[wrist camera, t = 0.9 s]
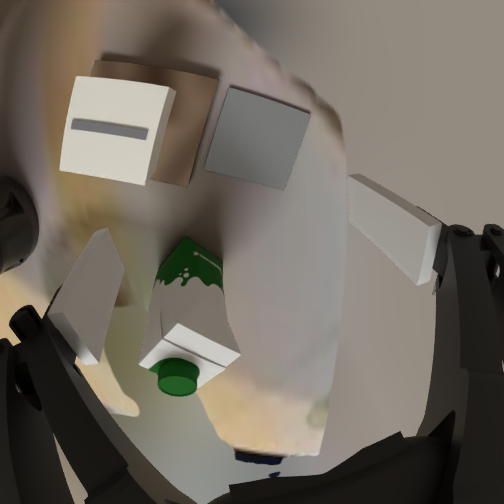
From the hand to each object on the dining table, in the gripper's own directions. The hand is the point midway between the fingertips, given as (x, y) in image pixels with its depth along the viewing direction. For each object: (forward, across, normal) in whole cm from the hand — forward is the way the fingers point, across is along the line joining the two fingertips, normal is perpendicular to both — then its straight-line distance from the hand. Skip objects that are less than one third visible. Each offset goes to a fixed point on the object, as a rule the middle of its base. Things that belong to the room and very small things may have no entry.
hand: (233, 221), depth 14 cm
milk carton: (+23, -6, -16) cm, 28 cm away
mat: (+22, +6, 0) cm, 23 cm away
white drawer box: (+16, -8, +6) cm, 19 cm away
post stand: (+23, -8, +6) cm, 25 cm away
